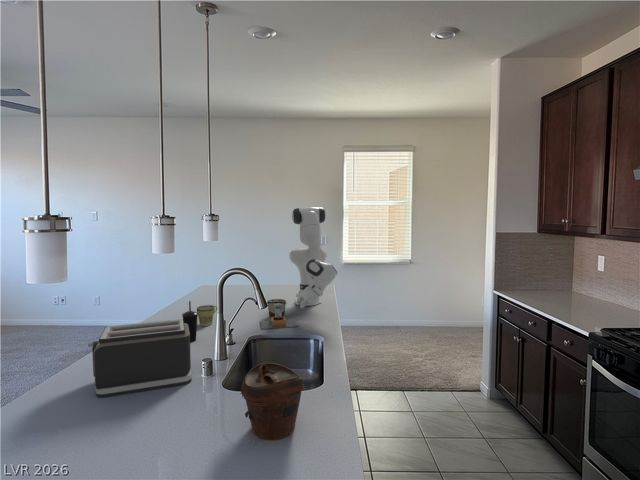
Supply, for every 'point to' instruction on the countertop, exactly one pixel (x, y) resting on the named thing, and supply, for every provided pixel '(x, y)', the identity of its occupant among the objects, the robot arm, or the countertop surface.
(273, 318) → the grey base plate
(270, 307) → the food container
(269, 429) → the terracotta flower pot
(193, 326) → the drinking cup
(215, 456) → the countertop surface
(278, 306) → the square-headed pin
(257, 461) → the countertop surface
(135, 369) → the toaster
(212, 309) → the ceramic cup
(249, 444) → the countertop surface
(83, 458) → the countertop surface
